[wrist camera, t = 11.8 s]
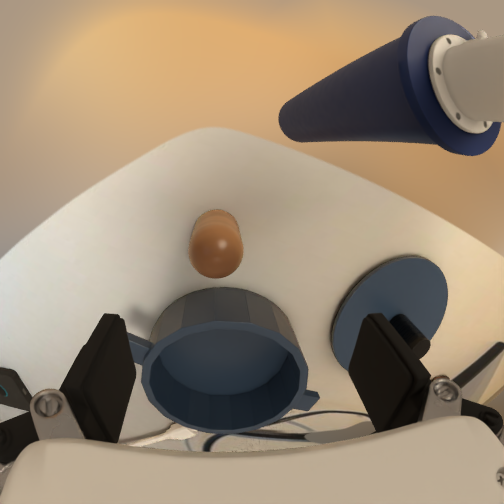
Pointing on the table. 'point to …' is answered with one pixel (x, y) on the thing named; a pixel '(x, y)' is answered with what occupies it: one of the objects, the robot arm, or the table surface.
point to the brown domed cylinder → (216, 244)
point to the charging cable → (168, 435)
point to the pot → (223, 362)
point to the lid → (394, 305)
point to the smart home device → (13, 390)
